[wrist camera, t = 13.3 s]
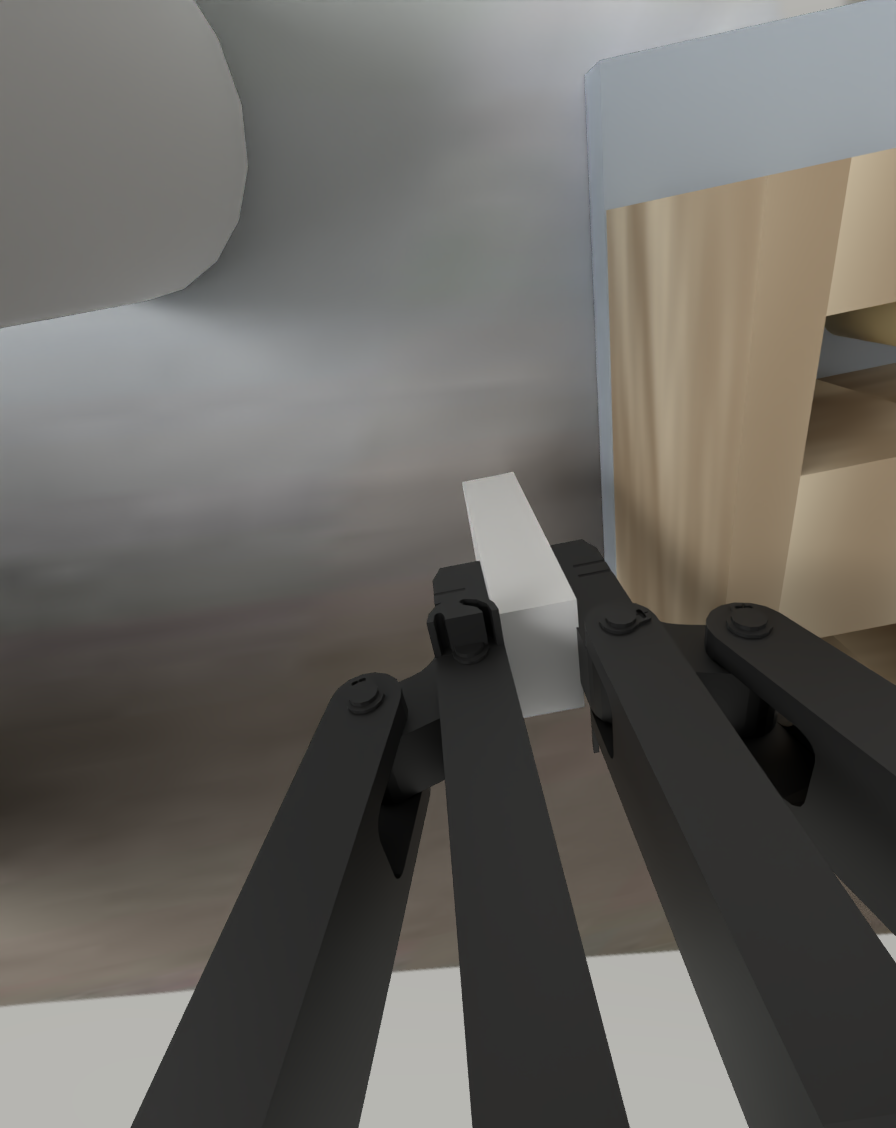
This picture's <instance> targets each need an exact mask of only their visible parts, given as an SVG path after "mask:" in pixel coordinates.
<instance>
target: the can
mask: <svg viewBox="0 0 896 1128" xmlns="http://www.w3.org/2000/svg"><path fill="white" fill-rule="evenodd" d="M247 171H248V160H247V150H246V140H245V131H244V121H243V112H242V104H241V101H240V98H239V95H238V93H237V90H236V87H235V84H234V81H233V78H232V76H231V73H230V70H229V67H228V64H227V62H226V59H225V56H224V53H223V50H222V47H221V45H220V42H219V39H218V37H217V35H216V34H215V32H214V31H213V29H212V27H211V26H210V24H209V23H208V21H207V20H206V18H205V16H204V15H203V13H202V12H201V10H200V9H199V7H198V5H197V4H196V2H195V1H194V0H0V328H4V327H9V326H15V325H20V324H25V323H31V322H36V321H42V320H47V319H53V318H58V317H63V316H69V315H74V314H80V313H85V312H91V311H96V310H102V309H107V308H112V307H118V306H123V305H129V304H134V303H140V302H144V301H147V300H150V299H154V298H157V297H160V296H163V295H167V294H170V293H173V292H176V291H180V290H183V289H185V288H186V287H187V286H188V285H189V284H191V283H192V282H193V281H194V280H195V279H197V278H198V277H199V276H200V275H201V274H203V273H204V272H205V271H206V270H207V269H209V268H210V267H211V266H212V265H213V264H215V263H216V262H217V260H218V258H219V257H220V255H221V253H222V251H223V249H224V247H225V245H226V244H227V242H228V240H229V238H230V236H231V234H232V233H233V231H234V229H235V227H236V225H237V223H238V221H239V218H240V212H241V206H242V201H243V195H244V189H245V183H246V177H247Z"/></svg>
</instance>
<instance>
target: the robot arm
mask: <svg viewBox="0 0 896 1128" xmlns="http://www.w3.org/2000/svg"><path fill="white" fill-rule="evenodd" d="M462 485H463V491H464V496H465V502H466V507H467V513H468V518H469V524H470V529H471V535H472V540H473V546H474V551H475V557H476V561H475V562H470V563H465V564H460V565H455V566H450V567H444V568H440V569H439V571H438V573H437V574H436V576H435V578H434V580H433V591H434V602H435V608H434V609H433V610H432V611H431V612H430V614H429V615H428V619H427V627H428V631H429V635H430V639H431V643H432V646H433V650H434V654H435V658H434V659H433V661H432V662H431V663H430V664H429V665H428V666H427V667H426V668H425V669H423V670H422V671H421V672H419V673H417V674H415V675H414V676H412V677H410V678H407V679H405V680H403V681H400V682H398V681H397V679H395V678H393V677H392V676H390V675H388V674H384V673H376V672H375V673H369V674H362V675H360V676H358V677H355V678H353V679H351V680H349V681H347V682H346V683H345V684H343V685H342V686H341V687H340V688H338V690H337V691H336V692H335V694H334V695H333V697H332V698H331V700H330V702H329V704H328V706H327V708H326V710H325V713H324V715H323V717H322V719H321V721H320V723H319V725H318V728H317V730H316V732H315V734H314V736H313V738H312V740H311V742H310V745H309V747H308V749H307V751H306V753H305V755H304V757H303V760H302V762H301V764H300V766H299V768H298V770H297V772H296V775H295V777H294V779H293V781H292V783H291V785H290V787H289V790H288V792H287V794H286V796H285V798H284V800H283V802H282V805H281V807H280V809H279V811H278V813H277V815H276V817H275V820H274V822H273V824H272V826H271V828H270V830H269V832H268V835H267V837H266V839H265V841H264V843H263V845H262V847H261V849H260V852H259V854H258V856H257V858H256V860H255V862H254V864H253V867H252V869H251V871H250V873H249V875H248V877H247V879H246V882H245V884H244V886H243V888H242V890H241V892H240V894H239V897H238V899H237V901H236V903H235V905H234V907H233V909H232V912H231V914H230V916H229V918H228V920H227V922H226V924H225V927H224V929H223V931H222V933H221V935H220V937H219V939H218V942H217V944H216V946H215V948H214V950H213V952H212V954H211V957H210V959H209V961H208V963H207V965H206V967H205V969H204V971H203V974H202V976H201V978H200V980H199V982H198V984H197V986H196V989H195V991H194V993H193V995H192V997H191V1000H190V1002H189V1004H188V1006H187V1008H186V1010H185V1012H184V1014H183V1017H182V1019H181V1021H180V1023H179V1025H178V1027H177V1029H176V1031H175V1034H174V1036H173V1038H172V1040H171V1042H170V1044H169V1046H168V1049H167V1051H166V1053H165V1055H164V1057H163V1059H162V1061H161V1064H160V1066H159V1068H158V1070H157V1072H156V1074H155V1076H154V1079H153V1081H152V1083H151V1085H150V1087H149V1089H148V1091H147V1093H146V1096H145V1098H144V1100H143V1102H142V1104H141V1107H140V1108H139V1111H138V1113H137V1115H136V1117H135V1119H134V1121H133V1124H132V1126H131V1128H358V1127H359V1122H360V1117H361V1112H362V1108H363V1103H364V1099H365V1094H366V1090H367V1085H368V1080H369V1076H370V1071H371V1066H372V1061H373V1057H374V1052H375V1047H376V1043H377V1038H378V1034H379V1029H380V1025H381V1020H382V1015H383V1010H384V1006H385V1001H386V996H387V992H388V987H389V983H390V978H391V974H392V969H393V964H394V960H395V955H396V950H397V946H398V941H399V936H400V932H401V927H402V922H403V918H404V913H405V909H406V904H407V899H408V895H409V890H410V885H411V881H412V876H413V871H414V867H415V862H416V858H417V853H418V848H419V844H420V839H421V834H422V830H423V825H424V820H425V816H426V811H427V806H428V802H429V797H430V787H431V786H433V785H435V784H437V783H439V782H441V781H443V780H445V786H446V798H447V811H448V824H449V836H450V849H451V862H452V874H453V887H454V900H455V912H456V925H457V938H458V950H459V963H460V975H461V987H462V1001H463V1013H464V1026H465V1038H466V1051H467V1064H468V1077H469V1089H470V1102H471V1115H472V1126H473V1128H630V1127H629V1123H628V1120H627V1115H626V1111H625V1108H624V1104H623V1100H622V1097H621V1092H620V1088H619V1084H618V1081H617V1077H616V1073H615V1069H614V1066H613V1062H612V1057H611V1054H610V1050H609V1046H608V1042H607V1039H606V1034H605V1031H604V1027H603V1023H602V1019H601V1015H600V1011H599V1007H598V1003H597V1000H596V996H595V992H594V988H593V984H592V980H591V977H590V973H589V969H588V965H587V961H586V957H585V953H584V949H583V946H582V942H581V938H580V934H579V930H578V926H577V922H576V919H575V915H574V911H573V907H572V903H571V899H570V895H569V892H568V888H567V884H566V880H565V876H564V872H563V868H562V865H561V861H560V857H559V853H558V849H557V845H556V841H555V838H554V834H553V830H552V826H551V822H550V818H549V814H548V811H547V807H546V803H545V799H544V795H543V791H542V787H541V783H540V780H539V776H538V772H537V768H536V764H535V760H534V756H533V753H532V749H531V745H530V741H529V737H528V733H527V729H526V726H525V722H524V718H526V717H532V716H537V715H543V714H548V713H554V712H559V711H564V710H570V709H575V708H581V707H585V706H584V692H585V695H586V697H587V700H588V702H589V705H590V712H591V727H592V742H593V751H594V753H597V752H599V746H600V748H601V751H602V754H603V756H604V759H605V761H606V764H607V766H608V769H609V771H610V774H611V777H612V779H613V782H614V784H615V787H616V789H617V792H618V794H619V797H620V800H621V802H622V805H623V807H624V810H625V812H626V815H627V817H628V820H629V823H630V825H631V828H632V830H633V833H634V835H635V838H636V840H637V843H638V846H639V848H640V851H641V853H642V856H643V858H644V861H645V863H646V866H647V868H648V871H649V874H650V876H651V879H652V881H653V884H654V886H655V889H656V891H657V894H658V897H659V899H660V902H661V904H662V907H663V909H664V912H665V914H666V917H667V920H668V922H669V925H670V927H671V930H672V932H673V935H674V937H675V940H676V943H677V945H678V948H679V950H680V953H681V955H682V958H683V960H684V963H685V965H686V968H687V970H688V973H689V976H690V978H691V981H692V983H693V986H694V988H695V991H696V994H697V996H698V999H699V1001H700V1004H701V1006H702V1009H703V1011H704V1014H705V1017H706V1019H707V1022H708V1024H709V1027H710V1029H711V1032H712V1034H713V1037H714V1040H715V1042H716V1045H717V1047H718V1050H719V1052H720V1055H721V1057H722V1060H723V1062H724V1065H725V1068H726V1070H727V1073H728V1075H729V1078H730V1080H731V1083H732V1086H733V1088H734V1091H735V1093H736V1096H737V1098H738V1101H739V1103H740V1106H741V1108H742V1111H743V1113H744V1116H745V1119H746V1121H747V1124H748V1126H749V1128H896V963H895V961H894V960H893V958H892V957H891V955H890V954H889V953H888V951H887V950H886V948H885V947H884V946H883V944H882V942H881V941H880V939H879V938H878V937H877V935H876V934H875V932H874V931H873V929H872V928H871V926H870V925H869V923H868V922H867V921H866V919H865V918H864V916H863V915H862V913H861V912H860V910H859V909H858V908H857V906H856V905H855V903H854V902H853V900H852V899H851V897H850V896H849V894H848V893H847V892H846V890H845V889H844V887H843V886H842V884H841V883H840V881H839V880H838V879H837V877H836V876H835V874H836V875H837V876H838V877H839V878H840V879H841V881H842V882H843V883H844V884H845V885H846V886H847V887H848V888H849V889H850V890H851V891H852V892H853V893H854V894H855V895H856V896H857V897H858V898H859V899H860V900H861V901H862V902H863V903H864V904H865V905H866V906H867V907H868V908H869V909H870V910H871V911H872V912H873V913H874V914H875V915H876V916H877V917H878V918H879V919H880V920H881V921H882V922H883V923H884V924H885V926H886V927H887V928H888V929H889V930H890V931H891V932H892V933H893V934H894V935H895V936H896V685H894V684H893V683H891V682H889V681H888V680H886V679H885V678H883V677H882V676H880V675H878V674H877V673H875V672H874V671H872V670H870V669H869V668H867V667H866V666H864V665H862V664H861V663H859V662H858V661H856V660H855V659H853V658H851V657H850V656H848V655H847V654H845V653H843V652H842V651H840V650H839V649H837V648H835V647H834V646H832V645H831V644H829V643H827V642H826V641H824V640H823V639H821V638H820V637H818V636H816V635H815V634H813V633H812V632H810V631H808V630H807V629H805V628H804V627H802V626H800V625H799V624H797V623H796V622H794V621H792V620H791V619H789V618H788V617H786V616H785V615H783V614H781V613H780V612H778V611H775V610H773V609H771V608H769V607H767V606H763V605H758V604H754V603H737V602H734V603H729V604H725V605H720V606H719V607H717V608H715V609H713V610H712V611H710V613H709V615H708V617H707V618H706V625H686V624H671V623H665V622H661V621H660V620H659V619H658V618H657V616H656V615H655V614H654V613H653V612H652V611H651V610H649V609H648V608H646V607H644V606H641V605H639V604H637V603H633V602H632V601H631V599H630V598H629V596H628V595H627V593H626V592H625V590H624V589H623V587H622V586H621V584H620V583H619V581H618V579H617V578H616V576H615V575H614V573H613V572H612V571H611V569H610V567H609V566H608V564H607V563H606V562H605V560H604V558H603V556H602V555H601V553H600V552H599V550H598V549H597V548H596V547H595V546H593V545H591V544H589V543H587V542H586V541H584V540H582V539H581V540H576V541H571V542H565V543H560V544H555V545H549V543H548V541H547V539H546V537H545V535H544V533H543V531H542V529H541V527H540V525H539V523H538V521H537V519H536V517H535V515H534V513H533V511H532V509H531V506H530V504H529V502H528V500H527V498H526V496H525V494H524V492H523V490H522V488H521V486H520V484H519V482H518V480H517V478H516V476H515V474H514V472H510V473H505V474H500V475H495V476H490V477H485V478H480V479H475V480H470V481H465V482H462ZM583 690H584V692H583ZM833 872H834V873H835V874H834V873H833Z"/></svg>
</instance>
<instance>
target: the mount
mask: <svg viewBox="0 0 896 1128" xmlns="http://www.w3.org/2000/svg"><path fill="white" fill-rule="evenodd" d="M585 99H586V123H587V148H588V172H589V196H590V220H591V244H592V269H593V293H594V317H595V341H596V365H597V390H598V414H599V438H600V462H601V486H602V511H603V535H604V559H605V562H606V563H607V564H608V566H609V567H610V569H611V571H612V572H613V573H614V575H615V576H616V578H617V571H616V536H615V501H614V466H613V431H612V396H611V360H610V325H609V290H608V255H607V220H606V210H610V209H615V208H619V207H624V206H629V205H633V204H638V203H643V202H647V201H652V200H656V199H661V198H666V197H670V196H675V195H680V194H684V193H689V192H693V191H698V190H703V189H707V188H712V187H717V186H721V185H726V184H730V183H735V182H740V181H744V180H749V179H754V178H758V177H763V176H767V175H772V174H777V173H781V172H786V171H791V170H795V169H800V168H804V167H809V166H814V165H818V164H823V163H828V162H832V161H837V160H842V159H846V158H851V157H855V156H860V155H865V154H869V153H874V152H879V151H883V150H888V149H892V148H896V0H867V1H862V2H858V3H853V4H849V5H844V6H840V7H835V8H831V9H826V10H822V11H817V12H813V13H808V14H804V15H800V16H795V17H791V18H786V19H782V20H777V21H773V22H768V23H764V24H759V25H755V26H750V27H746V28H741V29H737V30H732V31H728V32H724V33H719V34H715V35H710V36H706V37H701V38H697V39H692V40H688V41H683V42H679V43H674V44H670V45H665V46H661V47H656V48H652V49H648V50H643V51H639V52H634V53H630V54H625V55H621V56H616V57H612V58H607V59H603V60H600V61H599V62H598V63H597V64H596V65H595V66H594V67H592V68H591V69H590V70H589V71H588V72H587V73H586V74H585ZM892 363H896V302H892V303H887V304H882V305H877V306H872V307H868V308H863V309H858V310H853V311H848V312H844V313H839V314H834V315H829V316H826V320H825V327H824V333H823V339H822V345H821V351H820V358H819V364H818V370H817V376H816V379H818V378H823V377H828V376H833V375H838V374H843V373H848V372H853V371H857V370H862V369H867V368H872V367H877V366H882V365H887V364H892Z"/></svg>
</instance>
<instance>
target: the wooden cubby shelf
mask: <svg viewBox="0 0 896 1128" xmlns="http://www.w3.org/2000/svg"><path fill="white" fill-rule="evenodd" d="M606 220H607V255H608V290H609V325H610V360H611V396H612V431H613V466H614V501H615V536H616V571H617V579H618V581H619V583H620V584H621V586H622V587H623V589H624V590H625V592H626V593H627V595H628V596H629V598H630V599H631V601H632V602H633V603H637V604H639V605H641V606H644V607H646V608H648V609H649V610H651V611H652V612H653V613H654V614H655V615H656V616H657V618H658V619H659V620H660V621H661V622H665V623H671V624H686V625H706V618H707V617H708V615H709V613H710V611H712V610H713V609H715V608H717V607H719V606H720V605H725V604H729V603H734V602H737V603H754V604H758V605H763V606H767V607H769V608H771V609H773V610H775V611H778V612H780V613H781V614H783V615H785V616H786V617H788V618H789V619H791V620H792V621H794V622H796V623H797V624H799V625H800V626H802V627H804V628H805V629H807V630H808V631H810V632H812V633H813V634H815V635H816V636H818V637H820V638H821V639H823V640H824V641H826V642H827V643H829V644H831V645H832V646H834V647H835V648H837V649H839V650H840V651H842V652H843V653H845V654H847V655H848V656H850V657H851V658H853V659H855V660H856V661H858V662H859V663H861V664H862V665H864V666H866V667H867V668H869V669H870V670H872V671H874V672H875V673H877V674H878V675H880V676H882V677H883V678H885V679H886V680H888V681H889V682H891V683H893V684H894V685H896V363H892V364H887V365H882V366H877V367H872V368H867V369H862V370H857V371H853V372H848V373H843V374H838V375H833V376H828V377H823V378H818V379H816V376H817V370H818V364H819V358H820V351H821V345H822V339H823V333H824V327H825V320H826V316H829V315H834V314H839V313H844V312H848V311H853V310H858V309H863V308H868V307H872V306H877V305H882V304H887V303H892V302H896V148H892V149H888V150H883V151H879V152H874V153H869V154H865V155H860V156H855V157H851V158H846V159H842V160H837V161H832V162H828V163H823V164H818V165H814V166H809V167H804V168H800V169H795V170H791V171H786V172H781V173H777V174H772V175H767V176H763V177H758V178H754V179H749V180H744V181H740V182H735V183H730V184H726V185H721V186H717V187H712V188H707V189H703V190H698V191H693V192H689V193H684V194H680V195H675V196H670V197H666V198H661V199H656V200H652V201H647V202H643V203H638V204H633V205H629V206H624V207H619V208H615V209H610V210H606Z"/></svg>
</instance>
